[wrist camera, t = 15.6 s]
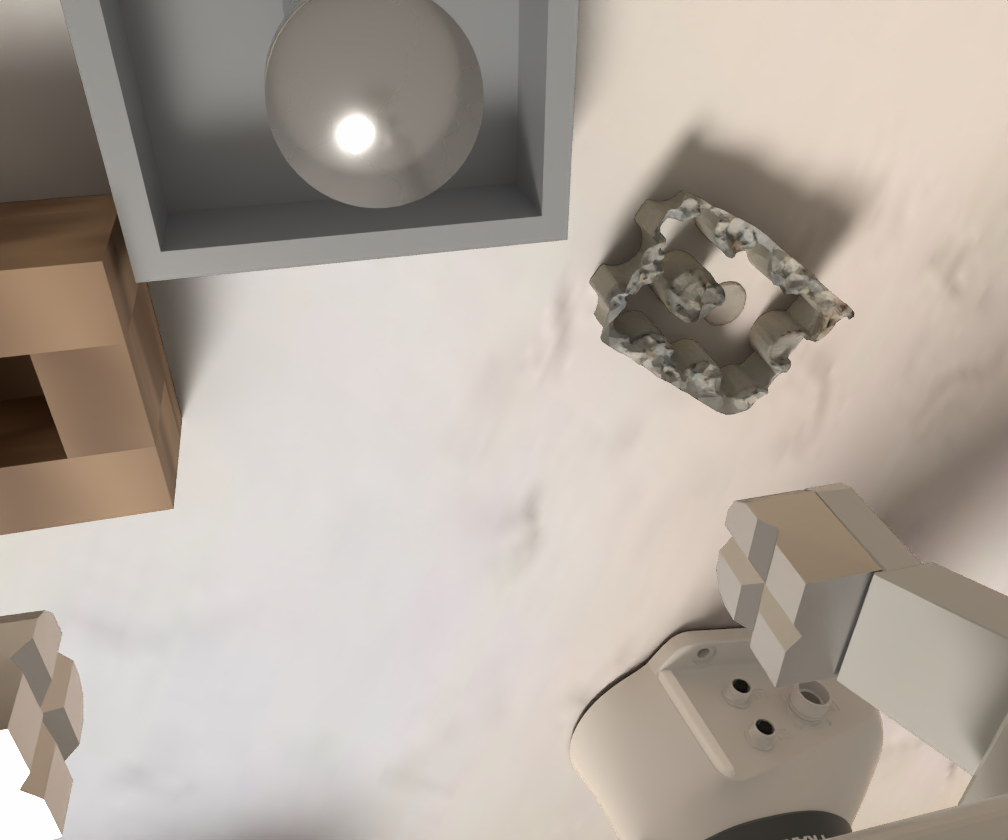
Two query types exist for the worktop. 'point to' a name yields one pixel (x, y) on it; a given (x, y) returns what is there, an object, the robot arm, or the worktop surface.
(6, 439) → the socket block
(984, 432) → the worktop surface
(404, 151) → the steel pin
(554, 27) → the grey tray
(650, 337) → the egg carton
